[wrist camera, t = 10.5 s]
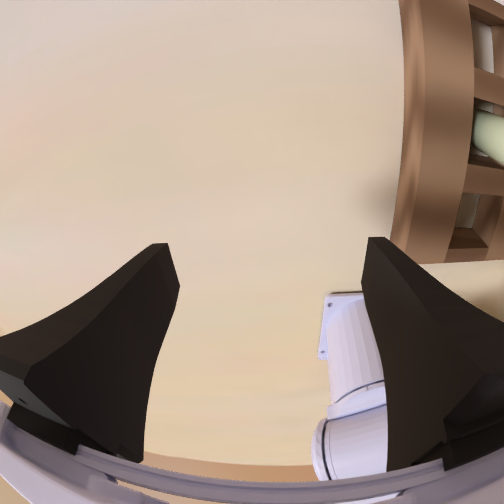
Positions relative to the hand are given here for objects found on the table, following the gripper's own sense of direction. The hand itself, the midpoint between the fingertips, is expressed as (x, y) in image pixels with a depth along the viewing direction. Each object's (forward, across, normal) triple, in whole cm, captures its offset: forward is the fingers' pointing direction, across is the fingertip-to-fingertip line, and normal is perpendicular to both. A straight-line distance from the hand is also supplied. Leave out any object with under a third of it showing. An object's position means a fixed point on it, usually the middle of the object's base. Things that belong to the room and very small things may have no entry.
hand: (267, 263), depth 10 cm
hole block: (+10, -15, -4) cm, 19 cm away
